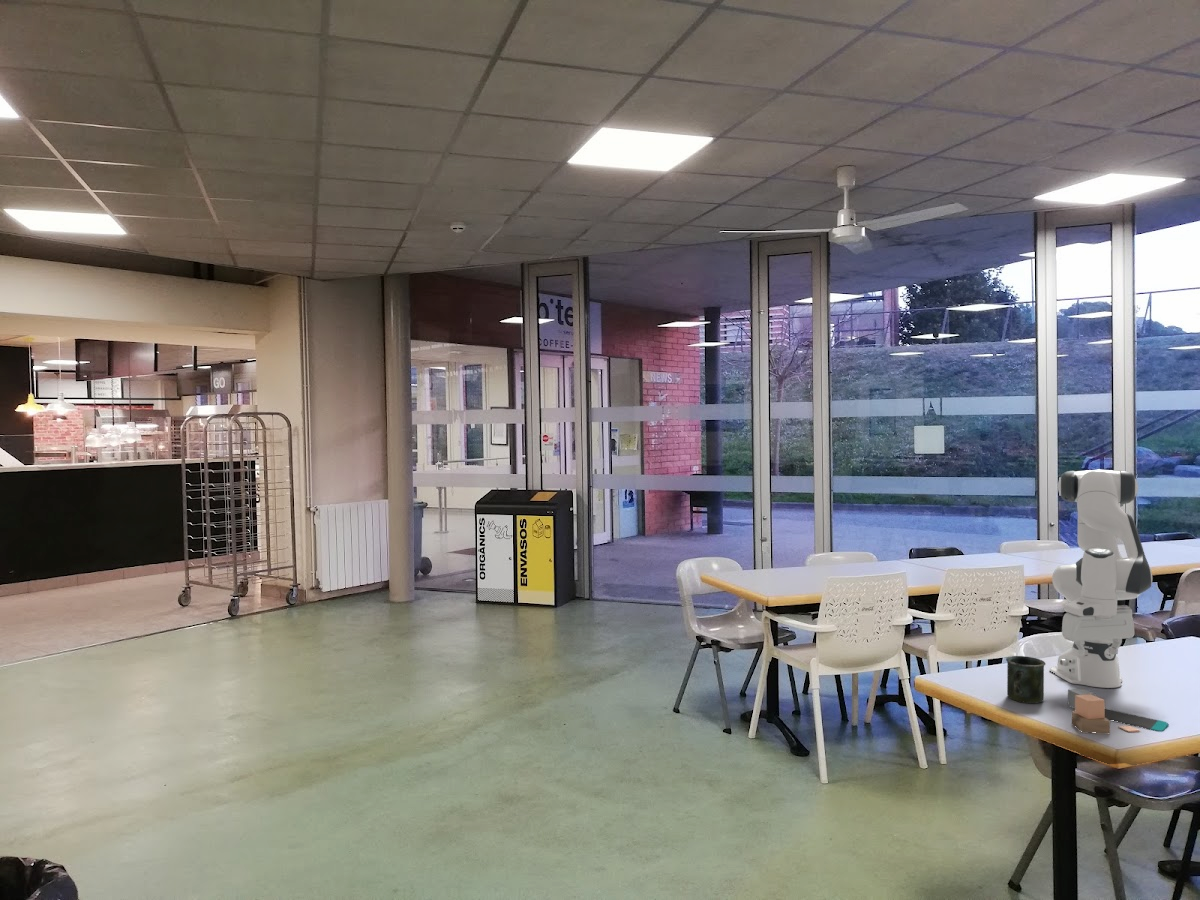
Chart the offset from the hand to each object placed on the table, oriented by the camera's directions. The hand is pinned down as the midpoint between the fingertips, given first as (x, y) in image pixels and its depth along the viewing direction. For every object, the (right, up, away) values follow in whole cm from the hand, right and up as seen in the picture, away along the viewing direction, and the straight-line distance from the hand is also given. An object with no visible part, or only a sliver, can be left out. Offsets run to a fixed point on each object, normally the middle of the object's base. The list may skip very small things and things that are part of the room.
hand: (1098, 654), depth 227 cm
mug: (-10, -20, +22) cm, 31 cm away
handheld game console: (+11, -21, +5) cm, 24 cm away
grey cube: (+4, -20, +15) cm, 25 cm away
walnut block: (-4, -20, -3) cm, 21 cm away
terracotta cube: (-4, -16, -3) cm, 17 cm away
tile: (+6, -20, -4) cm, 21 cm away
